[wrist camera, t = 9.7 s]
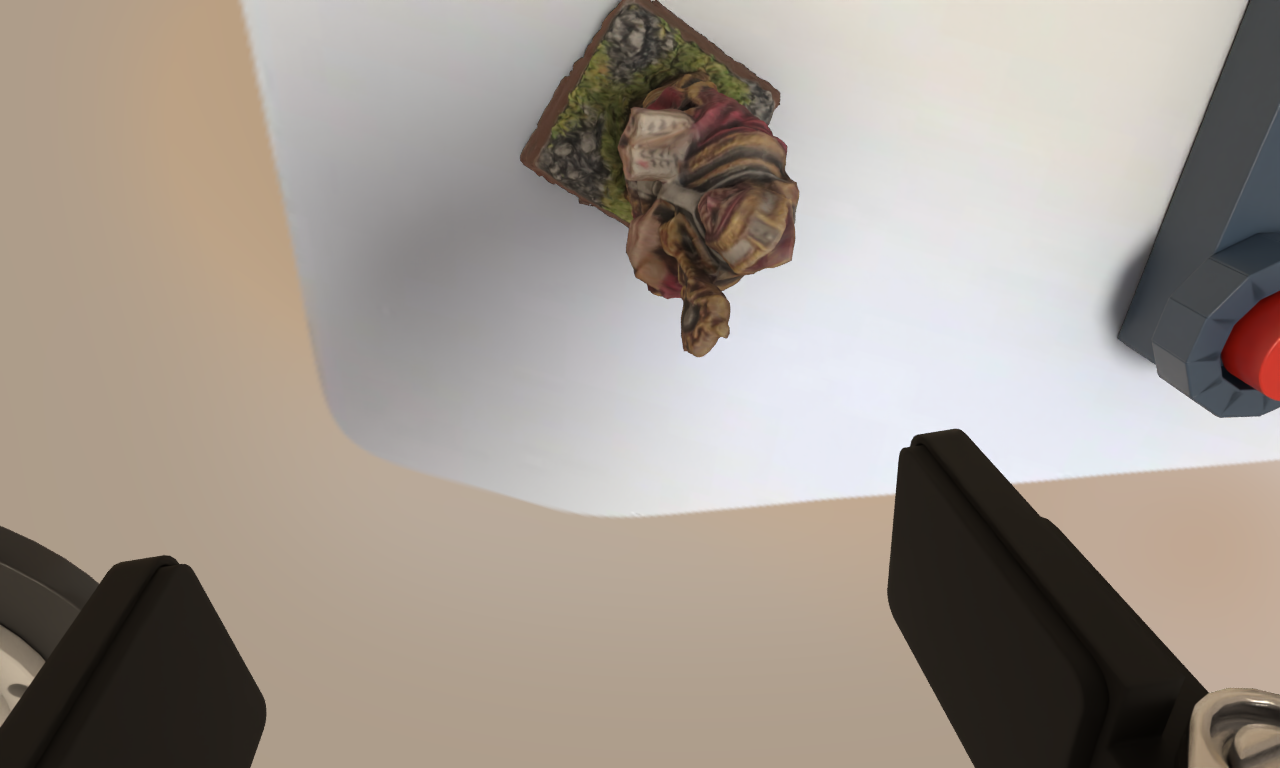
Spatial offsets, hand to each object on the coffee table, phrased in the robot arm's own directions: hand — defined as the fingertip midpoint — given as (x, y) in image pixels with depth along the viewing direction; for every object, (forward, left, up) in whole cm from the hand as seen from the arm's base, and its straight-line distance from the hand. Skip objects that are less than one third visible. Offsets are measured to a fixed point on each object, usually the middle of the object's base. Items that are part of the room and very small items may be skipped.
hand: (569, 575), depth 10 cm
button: (+7, -24, -14) cm, 29 cm away
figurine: (+3, -2, -18) cm, 18 cm away
